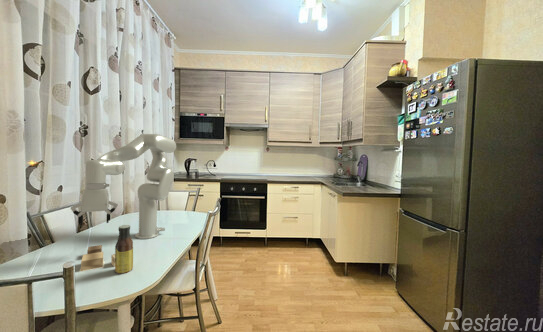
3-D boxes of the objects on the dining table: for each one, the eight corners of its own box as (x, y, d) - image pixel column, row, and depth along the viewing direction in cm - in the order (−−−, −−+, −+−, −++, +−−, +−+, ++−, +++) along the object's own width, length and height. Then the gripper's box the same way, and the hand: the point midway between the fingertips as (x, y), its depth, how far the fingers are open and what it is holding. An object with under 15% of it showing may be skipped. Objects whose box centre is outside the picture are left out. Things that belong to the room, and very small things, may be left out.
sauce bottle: (120, 269, 98) (121, 223, 97) (135, 269, 99) (136, 223, 98) (111, 277, 92) (112, 228, 91) (127, 277, 92) (128, 228, 91)
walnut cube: (101, 255, 111) (101, 244, 111) (101, 259, 107) (101, 248, 106) (88, 257, 108) (88, 246, 108) (87, 261, 104) (87, 250, 104)
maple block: (121, 260, 104) (122, 252, 103) (124, 263, 101) (125, 255, 101) (111, 263, 101) (111, 254, 100) (114, 267, 98) (114, 257, 98)
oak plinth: (103, 260, 103) (103, 251, 103) (102, 267, 97) (102, 257, 97) (83, 263, 99) (83, 254, 99) (81, 271, 93) (81, 261, 93)
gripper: (118, 185, 114) (117, 219, 115) (72, 186, 104) (71, 223, 105) (118, 187, 108) (117, 223, 108) (69, 188, 98) (68, 228, 99)
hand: (94, 223), depth 107 cm, fingers open, 9 cm apart
